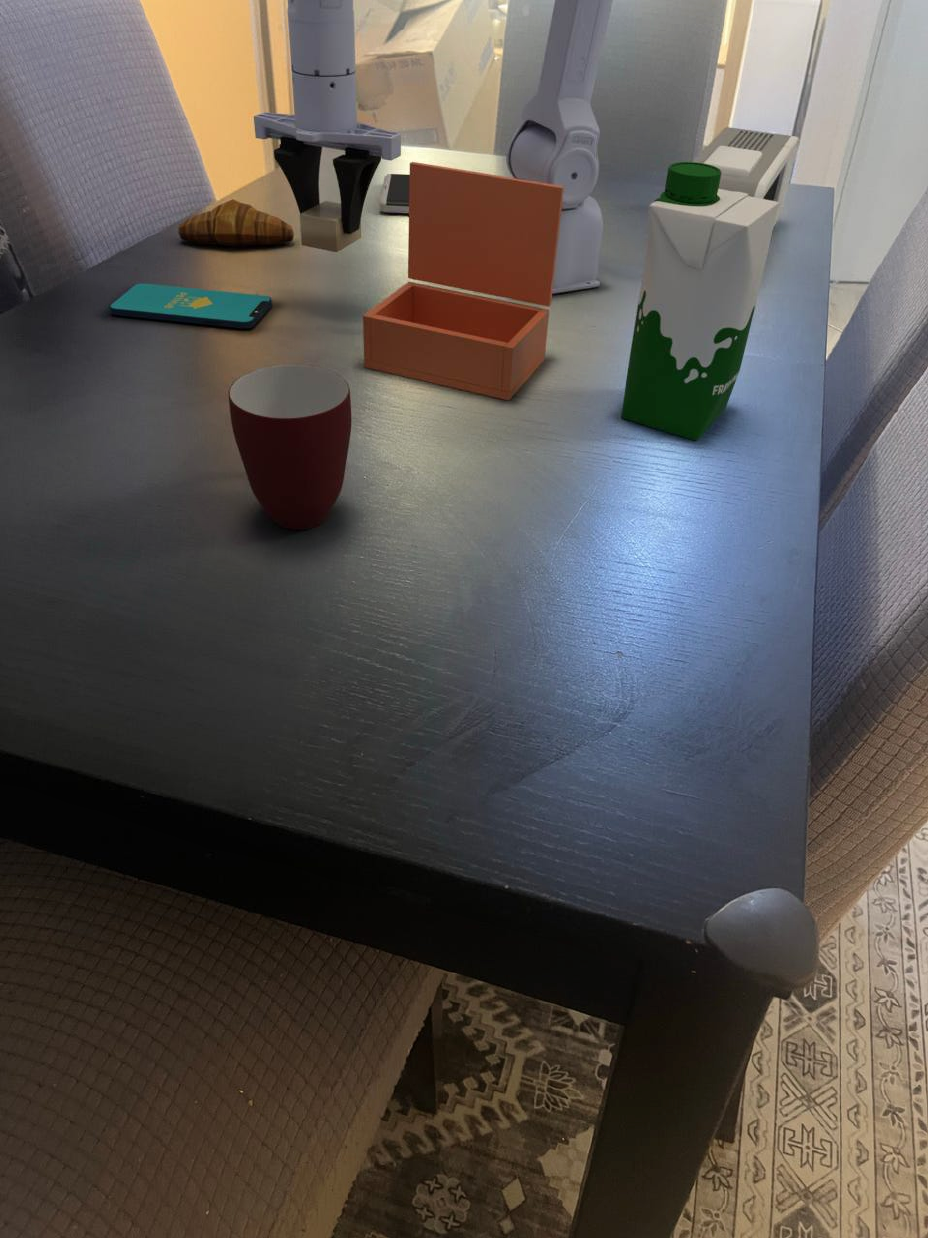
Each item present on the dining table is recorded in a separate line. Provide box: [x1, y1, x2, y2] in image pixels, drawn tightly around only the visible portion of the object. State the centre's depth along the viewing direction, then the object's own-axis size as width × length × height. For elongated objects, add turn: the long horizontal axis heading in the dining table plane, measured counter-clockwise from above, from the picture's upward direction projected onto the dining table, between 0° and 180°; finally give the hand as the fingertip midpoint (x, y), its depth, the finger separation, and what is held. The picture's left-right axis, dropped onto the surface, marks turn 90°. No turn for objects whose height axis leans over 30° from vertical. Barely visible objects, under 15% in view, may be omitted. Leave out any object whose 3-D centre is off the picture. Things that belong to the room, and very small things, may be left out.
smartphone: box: [109, 283, 273, 329], centre depth 97 cm, size 7×1×15 cm
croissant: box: [177, 199, 295, 247], centre depth 112 cm, size 14×7×5 cm, turn 94°
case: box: [362, 281, 550, 401], centre depth 89 cm, size 10×15×5 cm, turn 67°
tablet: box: [378, 173, 410, 214], centre depth 129 cm, size 13×27×2 cm, turn 90°
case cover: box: [407, 161, 564, 307], centre depth 87 cm, size 10×15×1 cm
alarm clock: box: [692, 126, 800, 227], centre depth 116 cm, size 27×9×12 cm, turn 157°
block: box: [299, 200, 362, 253], centre depth 94 cm, size 5×4×3 cm
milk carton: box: [620, 161, 779, 442], centre depth 78 cm, size 9×9×20 cm
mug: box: [228, 363, 352, 531], centre depth 68 cm, size 11×8×10 cm
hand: (330, 226), depth 94 cm, fingers closed on block, 4 cm apart
